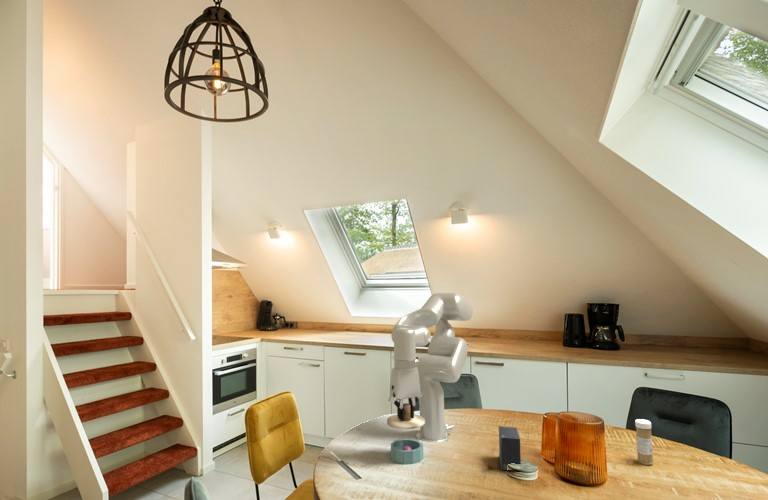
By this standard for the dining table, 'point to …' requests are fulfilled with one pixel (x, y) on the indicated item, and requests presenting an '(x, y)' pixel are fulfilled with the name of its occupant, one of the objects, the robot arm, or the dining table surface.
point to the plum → (406, 448)
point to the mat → (349, 470)
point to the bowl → (407, 451)
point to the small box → (509, 446)
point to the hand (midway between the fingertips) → (405, 417)
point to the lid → (406, 420)
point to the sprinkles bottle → (644, 441)
